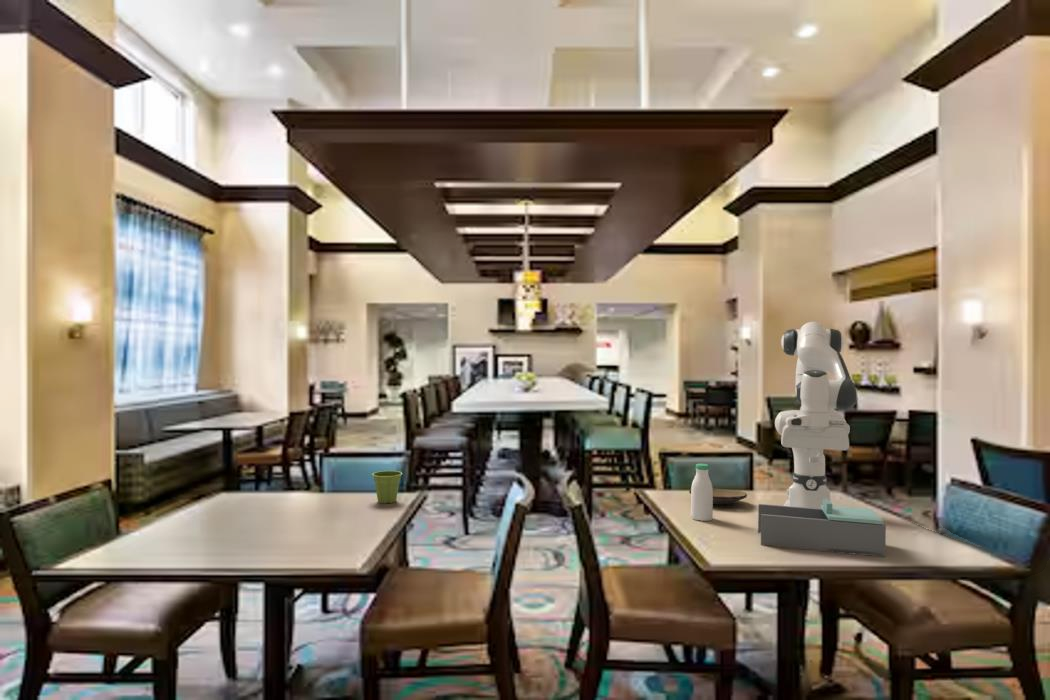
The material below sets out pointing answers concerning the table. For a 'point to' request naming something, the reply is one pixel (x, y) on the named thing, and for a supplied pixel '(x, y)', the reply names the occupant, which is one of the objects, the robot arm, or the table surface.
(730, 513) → the table surface
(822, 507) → the lid
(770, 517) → the housing
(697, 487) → the milk bottle
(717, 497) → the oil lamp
